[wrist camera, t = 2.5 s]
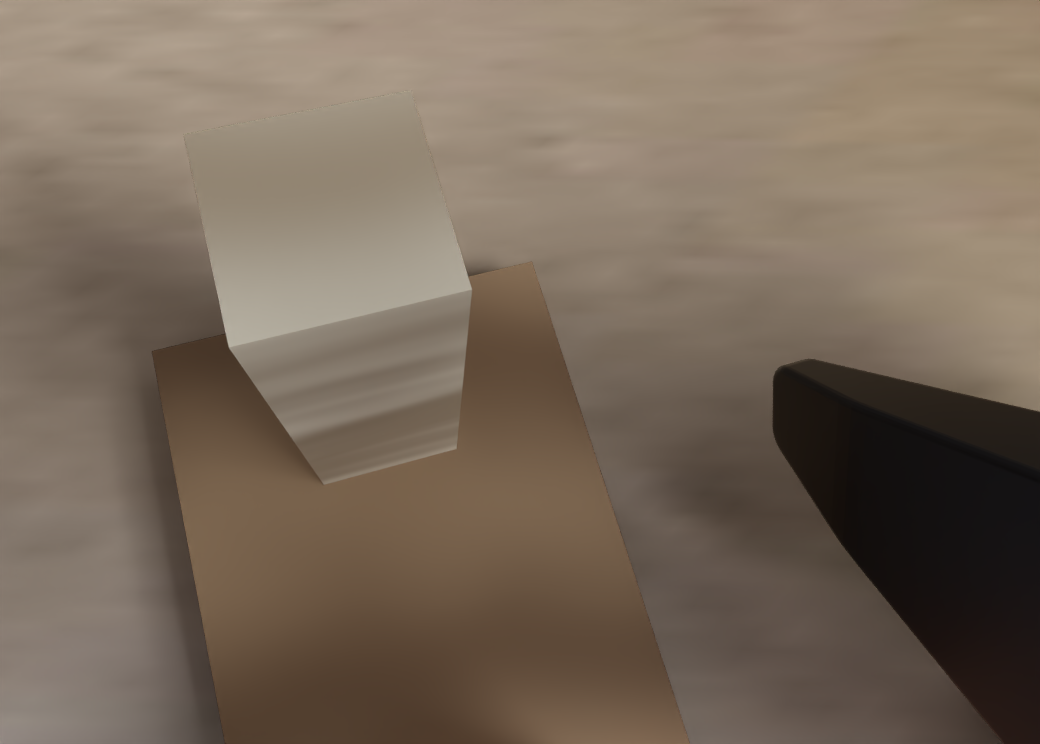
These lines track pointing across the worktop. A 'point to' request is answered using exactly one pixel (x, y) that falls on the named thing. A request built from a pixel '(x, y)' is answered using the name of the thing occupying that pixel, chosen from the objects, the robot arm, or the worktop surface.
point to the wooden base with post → (391, 465)
